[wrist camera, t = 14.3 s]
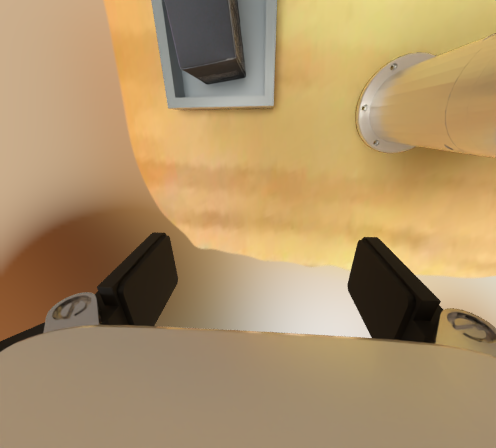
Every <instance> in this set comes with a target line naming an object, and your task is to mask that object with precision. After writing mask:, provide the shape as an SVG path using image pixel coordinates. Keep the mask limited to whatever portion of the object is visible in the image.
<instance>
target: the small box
mask: <svg viewBox="0 0 496 448" xmlns="http://www.w3.org/2000/svg"><path fill="white" fill-rule="evenodd" d="M165 5H166V9H167V13H168V18H169V22H170V27H171V31H172V35H173V40H174V44H175V49H176V53H177V58H178V62H179V66H180V69H181V70H183V71H185V72H187V73H189V74H190V75H192V76H194V77H195V78H197V79H199V80H200V81H202V82H203V83H205V84H213V83H219V82H224V81H230V80H236V79H241V78H245V77H246V71H245V61H244V53H243V44H242V36H241V27H240V17H239V10H238V1H237V0H165Z"/></svg>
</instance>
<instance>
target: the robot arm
mask: <svg viewBox="0 0 496 448" xmlns="http://www.w3.org/2000/svg"><path fill="white" fill-rule="evenodd" d="M390 67H392V70H391V69H390ZM362 106H363V107H364V109H363V110H362ZM356 125H357V129H358V132H359V135H360V137H361V138H362V140H363V141H364V142H365V143H366V144H367V145H368V146H369V147H371V148H373V149H374V150H377V151H380V152H385V153H398V152H404V151H407V150H409V149H412V148H414V147H416V146H418V147H425V148H432V149H438V150H445V151H451V152H458V153H465V154H471V155H478V156H485V157H495V158H496V33H495V34H492V35H490V36H487V37H484V38H482V39H479V40H477V41H474V42H472V43H469V44H467V45H464V46H461V47H459V48H456V49H454V50H451V51H449V52H446V53H444V54H441V55H439V56H436V55H433V54H430V53H423V52H417V53H410V54H407V55H404V56H401V57H398V58H396V59H395V60H393V61H391V62H389V63H388V64H386V65H385V66H383V67H382V68H381V69H380V70H379V71H378V72H377V73H375V74H374V76H373V77H372V78H371V79H370V81H369V82H368V83H367V85H366V86H365V88H364V90H363V91H362V94H361V96H360V99H359V101H358V105H357V110H356ZM374 141H375V143H374ZM373 143H374V144H373ZM177 282H178V276H177V271H176V266H175V261H174V256H173V251H172V246H171V241H170V237H169V236H167V235H166V234H165V233H152V234H151V235H150V236H149V237H148V238H147V239H146V240H145V241H144V242H143V243H141V244H140V246H138V247H137V248H136V249H135V250H134V251H133V252H132V253H131V254H130V255H129V256H128V257H127V258H126V259H125V260H124V261H123V262H122V263H121V264H120V265H119V266H118V267H117V268H116V269H115V270H114V271H113V272H112V273H111V274H110V275H109V276H108V277H107V278H106V279H105V280H104V281H103V282H101V283H100V285H98V286H97V288H98V292H97V293H96V294H95V295H94V294H92V293H87V292H86V293H79V294H76V295H72V296H70V297H67V298H65V299H64V300H62V301H60V302H58V303H57V304H56V305H55V306H53V307H52V308H51V310H50V311H49V312H48V314H47V316H46V322H45V323H42V324H40V325H38V326H35V327H33V328H31V329H28V330H26V331H24V332H21V333H19V334H17V335H14V336H12V337H10V338H7V339H5V340H3V341H1V342H0V448H496V328H495V327H494V326H493V325H491V324H490V323H489V322H487V321H485V320H484V319H482V318H480V317H479V316H476V315H474V314H472V313H470V312H466V311H464V310H459V309H454V308H452V309H451V308H450V309H445V310H443V309H442V308H441V307H440V306H439V304H440V302H441V301H440V300H439V299H438V298H437V297H436V296H435V295H434V294H433V293H432V292H431V291H430V290H429V289H428V288H427V287H426V286H425V285H424V284H423V283H422V282H421V281H420V280H419V279H418V278H417V277H416V276H415V275H414V274H413V273H412V272H411V271H410V270H409V269H408V268H407V267H406V266H405V265H404V264H403V263H402V262H401V261H400V260H399V258H398V257H397V256H396V255H395V254H394V253H393V252H392V251H391V250H390V249H389V248H388V247H387V246H386V245H385V244H384V243H383V242H382V241H381V240H380V239H379V238H377V237H364V238H363V239H362V240H359V241H358V244H357V248H356V252H355V256H354V260H353V264H352V268H351V273H350V277H349V281H348V291H349V293H350V295H351V297H352V299H353V301H354V303H355V305H356V307H357V309H358V311H359V313H360V315H361V317H362V319H363V321H364V323H365V325H366V327H367V329H368V331H369V333H370V335H371V337H372V338H361V337H343V336H328V335H310V334H293V333H274V332H258V331H257V332H256V331H238V330H219V329H199V328H179V327H158V326H154V325H155V323H156V322H157V320H158V318H159V316H160V314H161V312H162V311H163V309H164V307H165V305H166V303H167V301H168V300H169V298H170V296H171V294H172V292H173V290H174V289H175V287H176V285H177Z"/></svg>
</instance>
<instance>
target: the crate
mask: <svg viewBox="0 0 496 448" xmlns="http://www.w3.org/2000/svg"><path fill="white" fill-rule="evenodd" d="M151 1H152V7H153V14H154V20H155V27H156V33H157V39H158V46H159V52H160V58H161V65H162V71H163V78H164V84H165V90H166V97H167V103H168V108H171V109H177V110H211V109H257V108H273V106H274V77H275V47H276V16H277V0H237V1H238V10H239V17H240V27H241V36H242V44H243V53H244V61H245V71H246V77H245V78H241V79H236V80H230V81H224V82H219V83H213V84H205V83H203V82H202V81H200V80H199V79H197V78H195V77H194V76H192V75H190V74H189V73H187V72H185V71H183V70H181V69H180V66H179V62H178V58H177V53H176V49H175V44H174V40H173V35H172V31H171V27H170V22H169V18H168V13H167V9H166V5H165V0H151Z"/></svg>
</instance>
